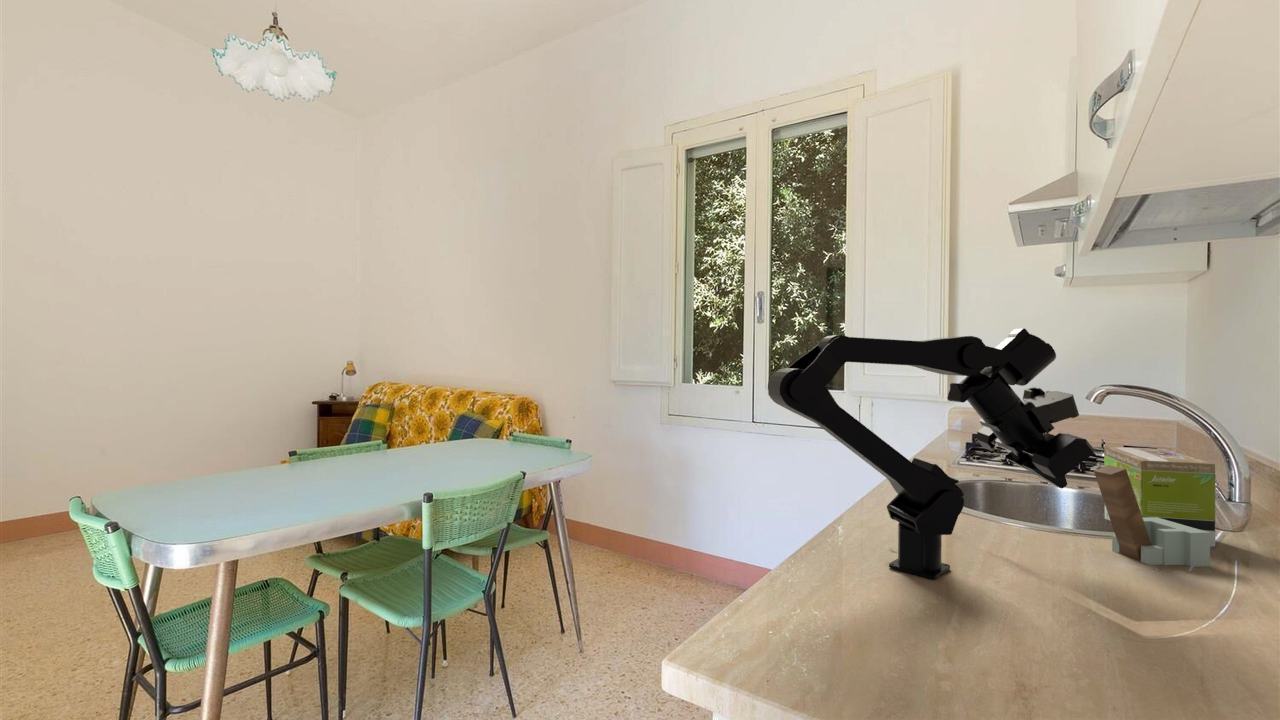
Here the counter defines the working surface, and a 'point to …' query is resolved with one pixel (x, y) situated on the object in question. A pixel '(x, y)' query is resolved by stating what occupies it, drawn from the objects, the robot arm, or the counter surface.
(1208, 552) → the bracket
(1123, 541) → the brown wooden post
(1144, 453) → the tea box
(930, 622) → the counter surface
